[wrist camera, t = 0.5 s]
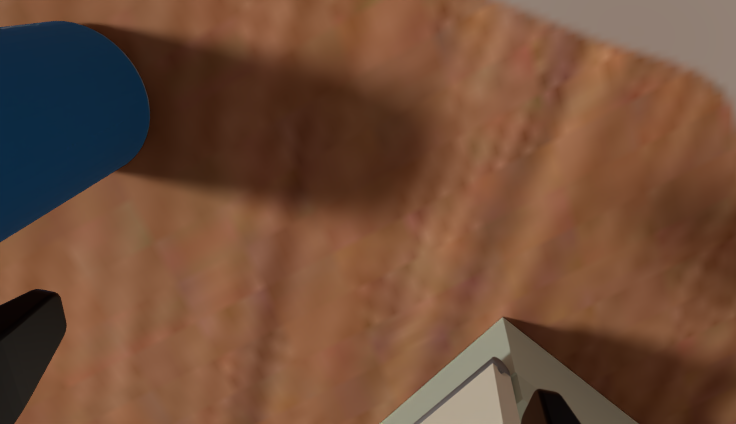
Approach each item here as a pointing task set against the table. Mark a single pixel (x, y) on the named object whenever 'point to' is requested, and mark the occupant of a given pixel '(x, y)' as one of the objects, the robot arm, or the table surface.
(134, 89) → the beverage can
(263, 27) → the table surface
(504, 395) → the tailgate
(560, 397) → the robot arm
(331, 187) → the table surface
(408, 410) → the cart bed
